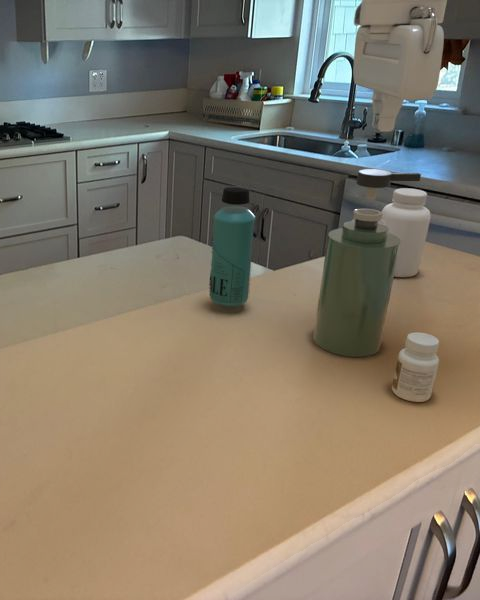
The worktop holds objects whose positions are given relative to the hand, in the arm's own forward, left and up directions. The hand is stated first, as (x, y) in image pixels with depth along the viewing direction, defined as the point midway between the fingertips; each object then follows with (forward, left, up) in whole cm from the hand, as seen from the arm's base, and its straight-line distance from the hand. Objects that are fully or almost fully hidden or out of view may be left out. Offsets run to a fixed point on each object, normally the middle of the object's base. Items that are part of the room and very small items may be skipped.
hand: (382, 129), depth 77 cm
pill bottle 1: (-16, -30, -30) cm, 46 cm away
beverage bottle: (+16, -11, -30) cm, 36 cm away
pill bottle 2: (-4, +13, -30) cm, 33 cm away
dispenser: (0, 0, -30) cm, 30 cm away
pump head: (-2, 0, -9) cm, 9 cm away
